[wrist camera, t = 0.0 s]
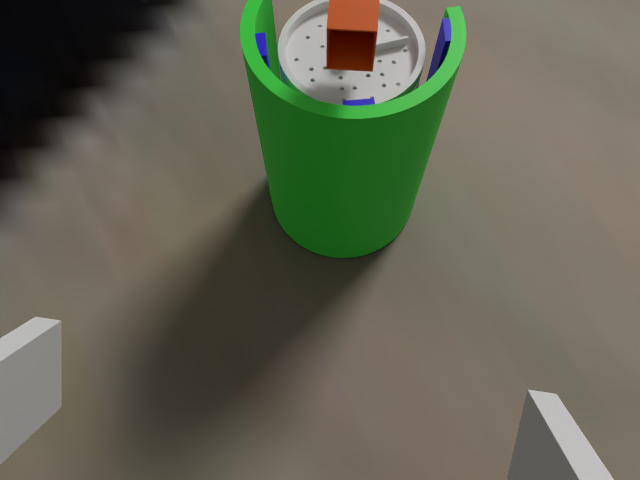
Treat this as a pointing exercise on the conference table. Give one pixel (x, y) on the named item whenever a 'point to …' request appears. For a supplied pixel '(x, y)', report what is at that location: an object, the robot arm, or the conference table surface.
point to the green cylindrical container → (346, 116)
